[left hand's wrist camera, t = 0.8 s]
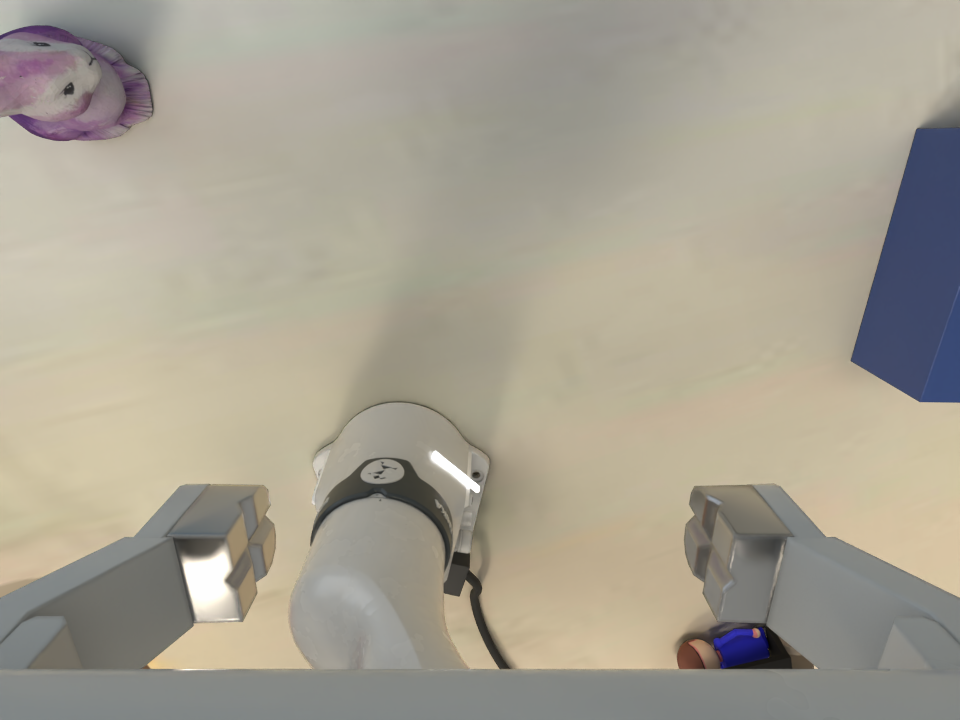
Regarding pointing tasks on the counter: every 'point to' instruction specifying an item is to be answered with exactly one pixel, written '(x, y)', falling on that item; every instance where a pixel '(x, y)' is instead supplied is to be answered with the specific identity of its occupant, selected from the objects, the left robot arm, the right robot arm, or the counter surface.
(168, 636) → the left robot arm
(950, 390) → the box
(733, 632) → the figurine character
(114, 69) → the figurine
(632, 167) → the counter surface
